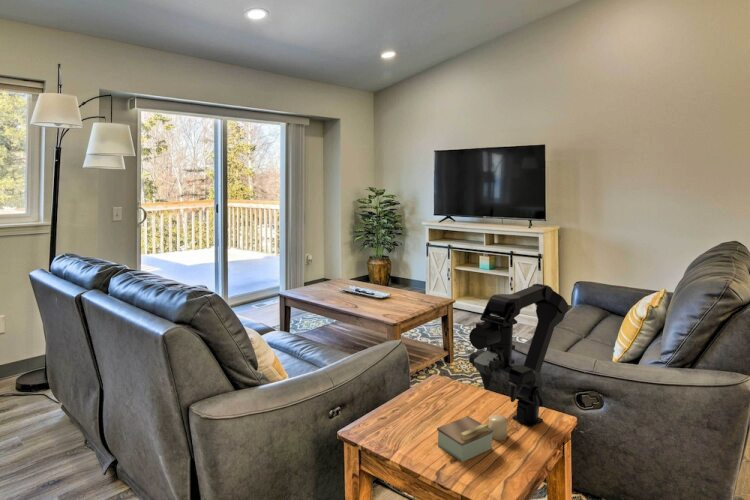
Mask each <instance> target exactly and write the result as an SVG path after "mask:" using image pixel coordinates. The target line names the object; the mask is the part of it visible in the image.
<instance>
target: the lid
mask: <svg viewBox="0 0 750 500" xmlns="http://www.w3.org/2000/svg"><path fill="white" fill-rule="evenodd" d="M436 431H437V432H438V431H439V432H441V433H442V434H444V435H446V436H447V437H449V438H450V439H452V440H453V441H455V442H456V443H458V444H459V445H461V446H462V445H465V444H467V443H469V442H471V441H474V440H476V439H478V438H481V437H483V436H485V435H487V434H490V433H492V432H493V430H492V429H490V428H489V424H487V423H486V422H485V423H481V422H480V421H477V420H476V419H474V418H473V417H470V416H468V415H466V416H464V417H461V418H459V419H455V420H453V421H451V422H449V423H446V424H444V425H440V426H439V427H437V428H436Z"/></svg>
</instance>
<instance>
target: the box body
mask: <svg viewBox="0 0 750 500" xmlns="http://www.w3.org/2000/svg"><path fill="white" fill-rule="evenodd" d="M437 432H438V433H437V446H438V447H439V448H440V449H441V450H443V451H445V452H446V453H448V454H449V455H450V456H452V457H453V458H455V459H457V460H458V462H461V463H464V462H466V461H468V460H470V459H472V458H474V457H476V456H478V455H481V454H482V453H485V452H487V451H489V450H491V449H492V445H493V444H492V442H493V439H492V433H490V434H487V435H485V436H483V437H481V438H478V439H476V440H474V441H471V442H469V443H467V444H465V445H462V446H461V445H459V444H458V443H456V442H455V441H453V440H452V439H450V438H449V437H447V436H446V435H444V434H442V433H441V432H439V431H438V430H437Z"/></svg>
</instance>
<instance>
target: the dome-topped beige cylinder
mask: <svg viewBox="0 0 750 500" xmlns="http://www.w3.org/2000/svg"><path fill="white" fill-rule="evenodd" d="M488 428H490V429H492V430H493V432H492V440H495V441H505V440H506V439H507V438H508V418H507V417H505V416H504V415H501V414H491V415H490V416H489V417H488Z"/></svg>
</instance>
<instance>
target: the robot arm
mask: <svg viewBox="0 0 750 500" xmlns="http://www.w3.org/2000/svg"><path fill="white" fill-rule="evenodd" d="M533 304H534V305H535V306H536V308H535V314H536V319H537V324H536V326H535V330H534V331H533V335H532V339H531V342H530V344H529V348H528V351H527V353H526V354H527V355H526V358H525V360H524V363H523V364H522V365H519V366H516V367H515V366H512V365H513V364H515V359H514V358H512V355H513V354H512V353H513V350H516V344H513V334H514V333H513V332H514V331H513V330H514V325H516V324H518V320H516V317H517V316H519V315H520V314H521V310H522V309H524V308H527V307H529V306H531V305H533ZM568 310H569V304H568V302H567V301H566V299H565V298H564V297H563V296H562V295H561V294H559V293H558V292H556V291H554V289H553V288H552V287H551V286H550V285H546V284H542V283H534V284H532V285H531V286H528V287H526V288H524V289H521V290H518V291H516V292H513V293H508V294H507V293H506V294H505V293H499V294H493V295H492V296H490V298H489V300H488V302H487V303H486V306H485V307H484V310H483V312H482V314H481V316H480V321H481V322H476V323H475V327H473V328H472V329H471V330H470V332H469V335H468V338H469V342H470V344H471V346H472V347H473V348H475V349H476V350H477V351H473V352H471V353H470V354H469V357H468V363H470V364H471V366H472V367H473V368H474V369H475V370H476V371H477V372H478V373H479V375H480V378H481V381H482V384H483V387H484V390H485V391H487V390H489V388H490V385H491V378H492V373H498V372H499V371H503V372H506V373H508V378H509V379H508V380H507V382H508V384H509V389H510V396H509V397H510V403H513V402H515V401H516V400H517V402H516V403H517V404H516V411H515V412H516V414H515V415H513V416H512V418H511V419H513V420H515V421H516V422H519V423H521V424H523V425H524V426H526V427H528V428H531V427H533V426H536V425H537V424H540V423H542V422H543V421H544V419H543V418H541V417H540V413H539V412H540V408H543V407H545V406H544V405H545V404H546V402H547V395H546V394H545V392H544V391H543V390H542V386H543V379H542V376H541V370H542V367H543V364H544V361H545V358H546V354H547V352H548V349H549V346H550V342H551V339H552V337H553V333H554V330H555V328H556V327H557V326H558V325H559V324H560V323H561V322H563V321H564V319H565V316H566V314H567V313H568ZM484 349H486V350H484Z"/></svg>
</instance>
